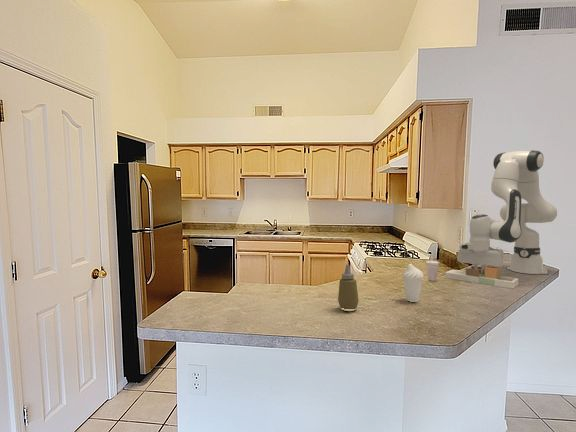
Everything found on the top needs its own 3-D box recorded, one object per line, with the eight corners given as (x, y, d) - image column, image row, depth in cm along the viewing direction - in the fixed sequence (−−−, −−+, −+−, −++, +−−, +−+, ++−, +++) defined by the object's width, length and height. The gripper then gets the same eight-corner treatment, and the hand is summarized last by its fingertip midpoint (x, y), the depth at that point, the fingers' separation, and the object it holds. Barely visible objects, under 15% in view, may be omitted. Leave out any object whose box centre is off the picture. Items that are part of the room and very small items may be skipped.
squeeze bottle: (359, 307, 126) (359, 263, 125) (357, 314, 118) (356, 267, 118) (339, 305, 129) (339, 262, 128) (336, 312, 121) (335, 266, 120)
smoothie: (436, 278, 168) (436, 252, 167) (441, 281, 162) (441, 254, 161) (424, 278, 169) (424, 252, 168) (428, 281, 162) (428, 254, 162)
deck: (452, 274, 176) (452, 263, 175) (518, 284, 153) (518, 271, 153) (445, 277, 169) (445, 266, 169) (513, 288, 146) (513, 275, 146)
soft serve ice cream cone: (423, 299, 134) (423, 262, 133) (423, 305, 126) (422, 266, 126) (403, 297, 137) (402, 261, 137) (401, 303, 130) (400, 265, 129)
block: (487, 275, 160) (487, 265, 160) (499, 277, 156) (499, 267, 156) (484, 277, 157) (484, 267, 156) (496, 278, 153) (496, 268, 153)
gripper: (505, 247, 155) (504, 275, 155) (460, 244, 170) (460, 269, 170) (501, 249, 150) (501, 277, 151) (456, 245, 165) (456, 271, 166)
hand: (479, 273), depth 161 cm, fingers closed
